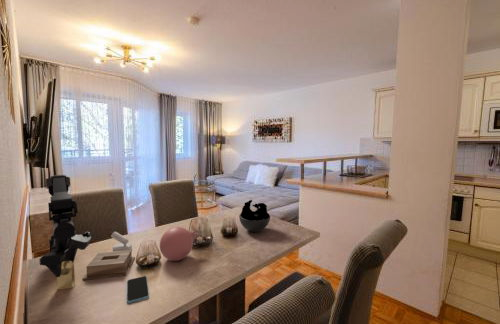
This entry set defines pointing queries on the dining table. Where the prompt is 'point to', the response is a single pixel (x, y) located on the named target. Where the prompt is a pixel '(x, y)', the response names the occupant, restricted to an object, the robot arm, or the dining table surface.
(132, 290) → the smartphone
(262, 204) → the bowl of black rocks
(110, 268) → the taupe square box
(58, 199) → the robot arm
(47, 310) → the dining table surface
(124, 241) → the white spotlight lamp
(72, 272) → the brass bracket
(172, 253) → the pink rounded piece
